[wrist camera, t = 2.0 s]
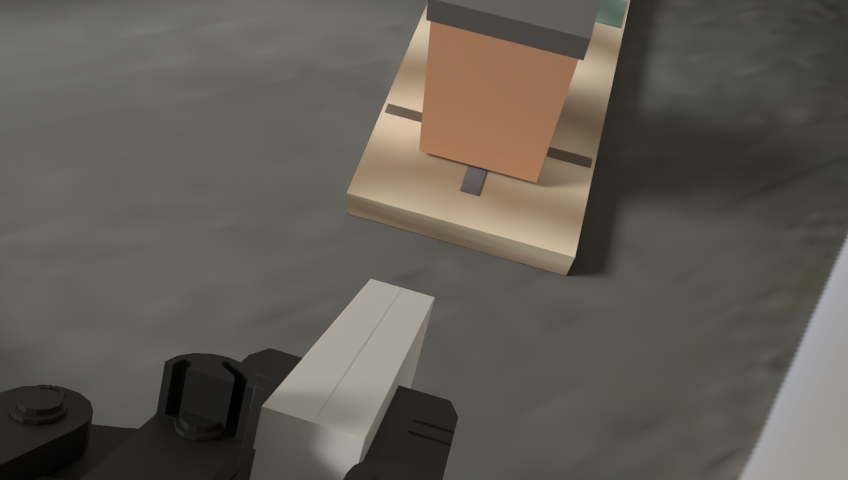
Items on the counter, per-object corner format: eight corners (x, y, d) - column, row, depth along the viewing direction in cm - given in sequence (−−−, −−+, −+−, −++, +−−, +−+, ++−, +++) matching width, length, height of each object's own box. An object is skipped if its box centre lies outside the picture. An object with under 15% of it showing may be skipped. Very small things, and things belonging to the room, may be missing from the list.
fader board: (565, 275, 38) (575, 256, 36) (347, 213, 39) (346, 191, 37) (642, -74, 53) (651, -100, 51) (483, -111, 54) (486, -138, 52)
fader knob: (540, 183, 38) (590, 39, 29) (415, 149, 38) (427, -3, 30) (558, 113, 40) (610, -40, 32) (440, 82, 41) (459, -77, 32)
